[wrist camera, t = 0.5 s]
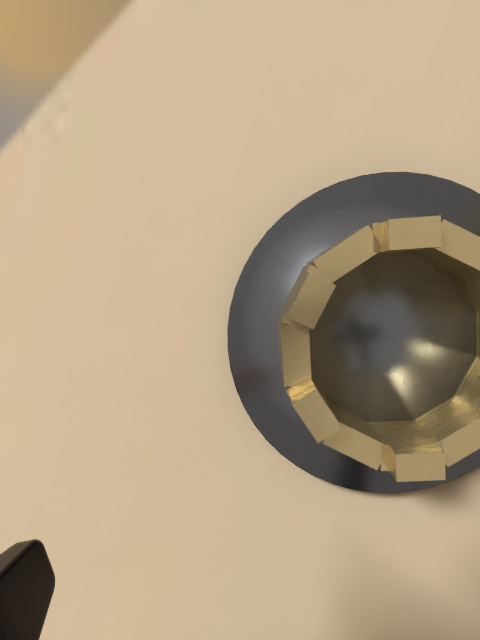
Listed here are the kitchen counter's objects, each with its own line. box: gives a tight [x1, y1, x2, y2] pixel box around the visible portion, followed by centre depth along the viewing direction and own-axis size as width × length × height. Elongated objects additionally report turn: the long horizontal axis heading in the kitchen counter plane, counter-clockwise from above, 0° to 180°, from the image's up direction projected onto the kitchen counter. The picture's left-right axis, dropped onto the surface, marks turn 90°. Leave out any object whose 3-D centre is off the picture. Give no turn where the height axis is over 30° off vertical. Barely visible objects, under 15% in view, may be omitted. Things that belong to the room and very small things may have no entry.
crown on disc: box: [228, 172, 480, 493], centre depth 19 cm, size 16×16×5 cm
